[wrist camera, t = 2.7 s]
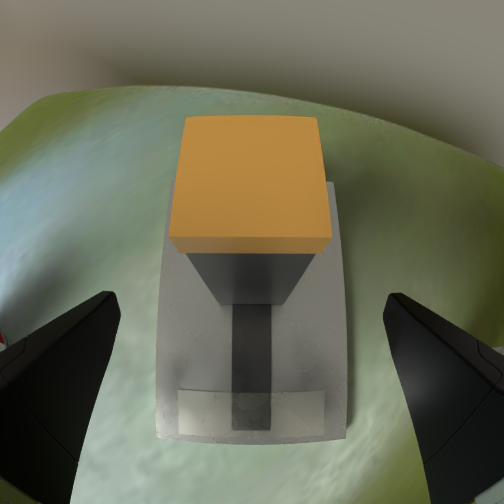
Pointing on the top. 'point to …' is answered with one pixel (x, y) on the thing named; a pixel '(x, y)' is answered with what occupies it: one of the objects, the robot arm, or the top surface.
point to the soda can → (3, 342)
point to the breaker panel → (252, 356)
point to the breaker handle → (250, 204)
